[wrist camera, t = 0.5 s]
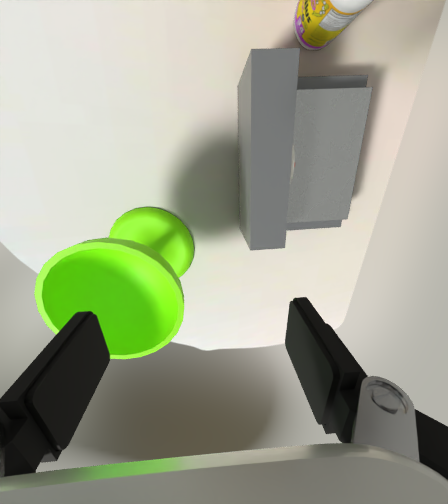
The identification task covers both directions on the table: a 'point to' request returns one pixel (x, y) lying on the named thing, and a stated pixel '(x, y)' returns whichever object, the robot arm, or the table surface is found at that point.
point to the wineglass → (122, 282)
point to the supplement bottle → (324, 20)
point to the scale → (273, 142)
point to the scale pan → (326, 152)
